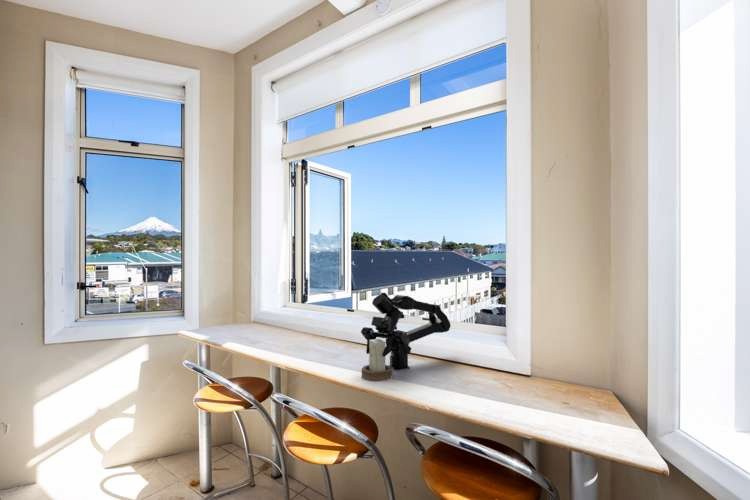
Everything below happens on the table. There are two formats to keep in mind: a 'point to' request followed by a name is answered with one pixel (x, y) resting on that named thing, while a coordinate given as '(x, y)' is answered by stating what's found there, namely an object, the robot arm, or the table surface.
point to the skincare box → (376, 355)
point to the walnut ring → (377, 374)
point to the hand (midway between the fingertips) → (375, 354)
